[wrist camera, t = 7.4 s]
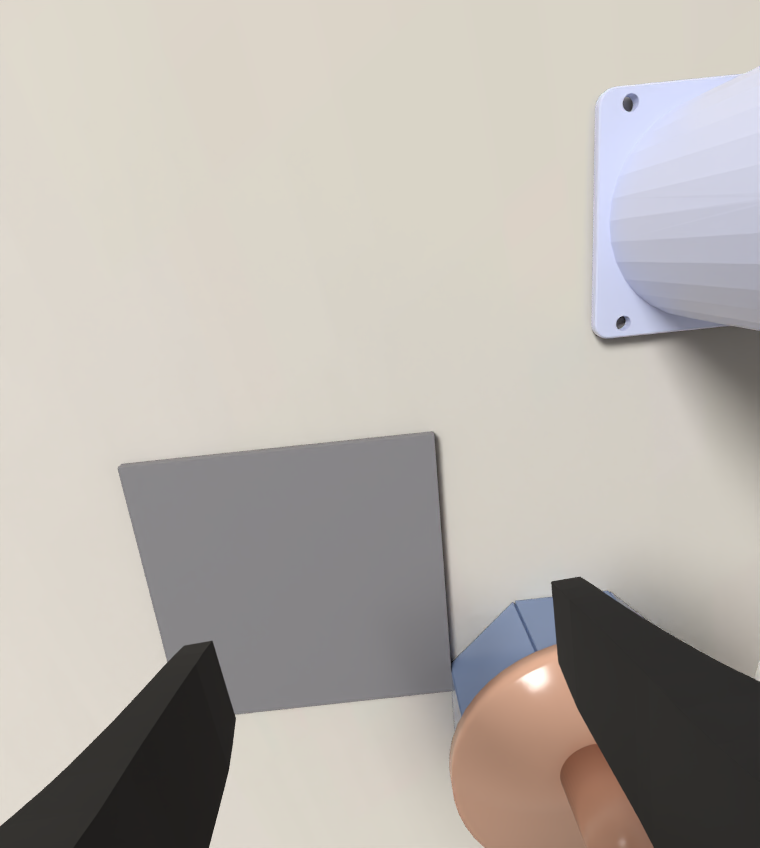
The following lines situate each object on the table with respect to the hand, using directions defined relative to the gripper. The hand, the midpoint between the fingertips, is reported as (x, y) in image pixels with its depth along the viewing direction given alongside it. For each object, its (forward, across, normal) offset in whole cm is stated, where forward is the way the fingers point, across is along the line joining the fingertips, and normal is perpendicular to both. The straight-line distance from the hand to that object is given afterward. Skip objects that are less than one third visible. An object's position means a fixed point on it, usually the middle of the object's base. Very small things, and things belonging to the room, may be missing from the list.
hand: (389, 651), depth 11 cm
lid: (+7, -6, +12) cm, 15 cm away
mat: (+10, +4, +4) cm, 12 cm away
